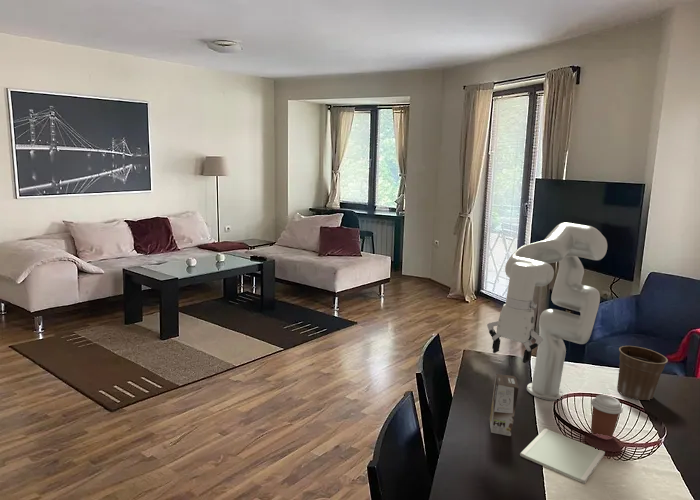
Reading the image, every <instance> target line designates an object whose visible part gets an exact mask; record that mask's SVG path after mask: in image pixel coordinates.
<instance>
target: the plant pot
mask: <svg viewBox="0 0 700 500" xmlns="http://www.w3.org/2000/svg"><path fill="white" fill-rule="evenodd" d="M618 351H619V358H618V359H619V368H618V377H617V384H616V385H617V386H616V388H617V391H618V392H619V393H620V394H621V395H623V396H624V395H625V397H626V396H627V398H629V397H630V398H629V399H632V398H634V399H633V400H635V399H636V400H638V401H640V400H649V401H651V400H650V399H652V400H653V398H654V396H655V392H656V389H657V386H658V383H659V381H660V379H661V374H662V372H663V371H664V369H665V366H666V364H667V363H669V362H668V361H669V359H668V358H667V357H666V356H665V355H663V354H661V353H659V352H657V351H654V350H652V349H648V348H646V347H640V346H634V345H622V346H620V347H619V348H618Z"/></svg>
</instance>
